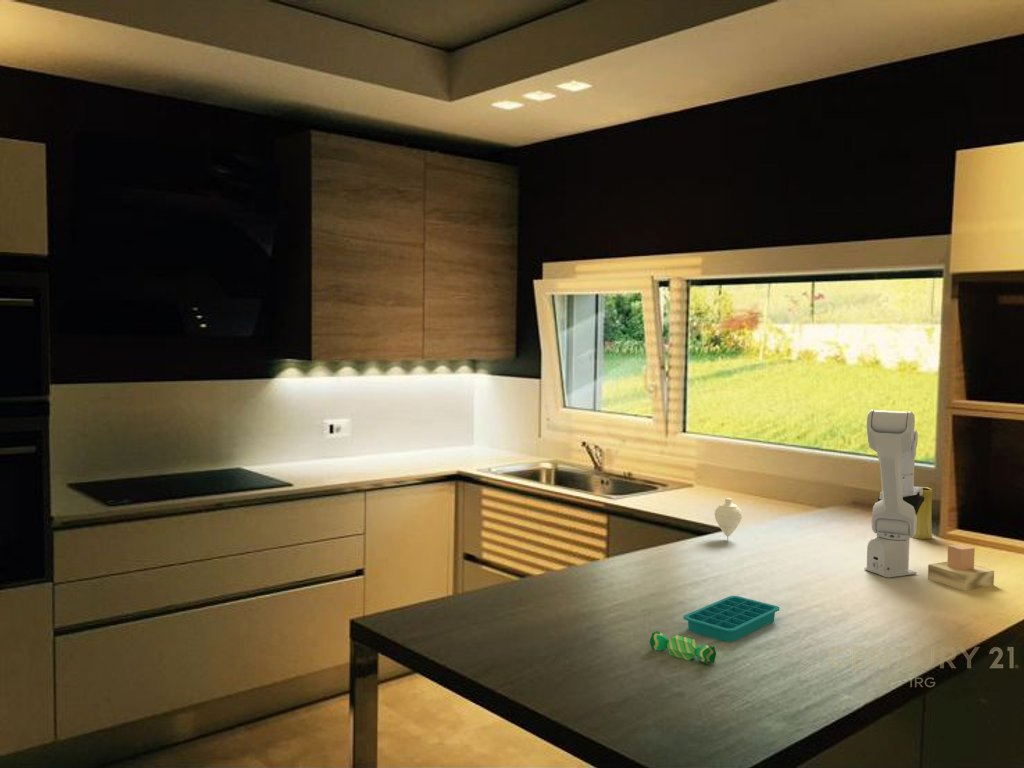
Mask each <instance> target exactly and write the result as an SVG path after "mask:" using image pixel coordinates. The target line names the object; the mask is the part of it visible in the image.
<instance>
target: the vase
mask: <svg viewBox="0 0 1024 768" xmlns="http://www.w3.org/2000/svg"><path fill="white" fill-rule="evenodd" d="M921 487H922V488H923V495H919V496H923V497H924V501H923V503H922V504H921V506H920V508H919V510H918V513H917V526H916V534H915V536H913V537H912V539H913V538H914V539H919V540H930V539H931V540H932V538H933V534H932V531H933V530H932V526H933V524H932V517H933V516H932V515H933V514H932V510H933V509H932V508H933V505H932V504H933V501H932V500H933V496H932V495H933V491H932V490H933V489H932V488H930V487H925V486H921Z"/></svg>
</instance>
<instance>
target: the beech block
mask: <svg viewBox="0 0 1024 768" xmlns="http://www.w3.org/2000/svg"><path fill="white" fill-rule="evenodd" d="M947 563H948V560H947V561H941V562H936V563H929V564H928V566H927V569H928V571H927V579H928V580H931V581H932V582H933V581H934V582H936V583H940V584H942V585H945V586H948V587H952V588H955V589H959V590H962V591H969V590H975V589H981V588H985V587H990V586H994V584H995V570H994V569H990V568H986V567H983V566H979V565H977V564H974V569H968V570H958V569H955V568H952V567H949V566H947Z"/></svg>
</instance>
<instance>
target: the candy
mask: <svg viewBox="0 0 1024 768" xmlns="http://www.w3.org/2000/svg"><path fill="white" fill-rule="evenodd" d="M649 644H650V648H651V649H652V650H655V651H662V650H665V649H667V651H668V653H669V655H670V656H673V657H676V658H679V659H683V660H685V661H690V660H692V659H694V658H697V659H698V660H699V661H700V662H702V663H704V664H705V665H707V666H709V665H710V664H709V663H708V662H710V663H715V661H716V657H717V651H716V649H715V646H713V645H708V644H704V645H702V646H697V645H698V644H697V642H696V640H695V639H694V638H689V637H685V636H682V635H679V634H676V635H674V636H672V637H671V638H668V637H667V636H666V635H665V634H663V633H661V632H660V631H658V630H656V631H653V632H652V633H651V635H650V638H649Z"/></svg>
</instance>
